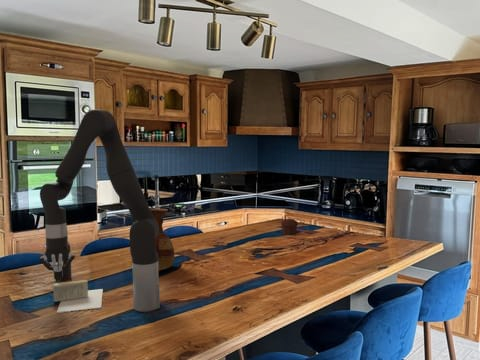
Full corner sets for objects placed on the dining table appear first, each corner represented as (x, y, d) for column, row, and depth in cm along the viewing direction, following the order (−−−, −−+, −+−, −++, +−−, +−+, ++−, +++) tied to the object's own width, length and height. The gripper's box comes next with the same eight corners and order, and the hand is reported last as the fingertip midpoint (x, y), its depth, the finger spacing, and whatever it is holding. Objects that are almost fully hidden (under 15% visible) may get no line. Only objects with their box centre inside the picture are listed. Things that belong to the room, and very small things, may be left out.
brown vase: (182, 269, 197) (181, 207, 195) (147, 279, 183) (145, 212, 180) (158, 261, 211) (157, 203, 208) (123, 270, 196) (122, 208, 194)
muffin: (280, 235, 270) (280, 220, 269) (281, 231, 281) (281, 217, 280) (298, 235, 268) (298, 220, 267) (298, 232, 279) (298, 217, 278)
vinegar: (68, 275, 189) (66, 232, 187) (74, 278, 184) (72, 234, 182) (52, 278, 184) (50, 235, 182) (58, 282, 179) (56, 237, 177)
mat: (102, 289, 169) (102, 288, 169) (101, 308, 150) (101, 307, 150) (63, 293, 165) (63, 292, 165) (56, 313, 146) (56, 312, 146)
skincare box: (53, 299, 159) (87, 295, 164) (53, 302, 155) (88, 297, 160) (53, 282, 159) (87, 279, 163) (53, 285, 155) (87, 281, 159)
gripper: (35, 238, 148) (37, 285, 149) (74, 236, 151) (76, 281, 153) (39, 234, 155) (41, 279, 156) (76, 232, 159) (78, 275, 160)
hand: (58, 280), depth 155 cm, fingers closed
